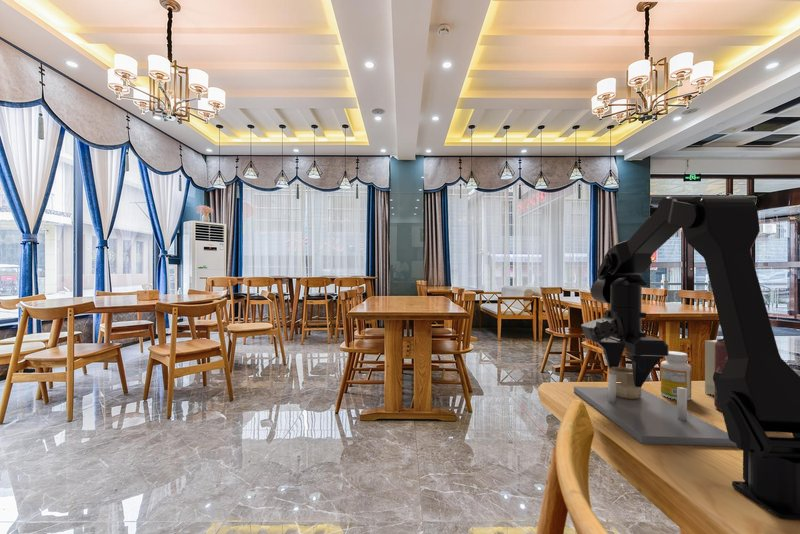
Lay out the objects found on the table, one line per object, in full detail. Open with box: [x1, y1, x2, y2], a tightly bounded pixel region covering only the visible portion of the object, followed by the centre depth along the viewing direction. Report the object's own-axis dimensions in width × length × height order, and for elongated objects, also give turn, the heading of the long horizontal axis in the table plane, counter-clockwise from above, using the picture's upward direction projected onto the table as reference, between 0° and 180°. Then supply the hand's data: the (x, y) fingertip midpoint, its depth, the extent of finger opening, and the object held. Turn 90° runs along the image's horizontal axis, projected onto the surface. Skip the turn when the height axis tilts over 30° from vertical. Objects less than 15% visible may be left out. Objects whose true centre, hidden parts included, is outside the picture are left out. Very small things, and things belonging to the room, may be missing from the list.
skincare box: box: [704, 339, 717, 396], centre depth 83 cm, size 6×4×12 cm
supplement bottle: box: [660, 350, 692, 402], centre depth 81 cm, size 5×5×10 cm
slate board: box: [573, 373, 737, 448], centre depth 71 cm, size 25×15×7 cm, turn 178°
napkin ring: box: [608, 366, 642, 398], centre depth 78 cm, size 6×6×5 cm
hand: (624, 380), depth 78 cm, fingers open, 9 cm apart
